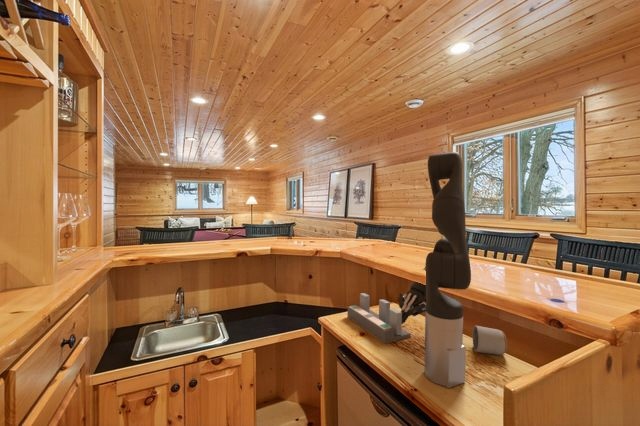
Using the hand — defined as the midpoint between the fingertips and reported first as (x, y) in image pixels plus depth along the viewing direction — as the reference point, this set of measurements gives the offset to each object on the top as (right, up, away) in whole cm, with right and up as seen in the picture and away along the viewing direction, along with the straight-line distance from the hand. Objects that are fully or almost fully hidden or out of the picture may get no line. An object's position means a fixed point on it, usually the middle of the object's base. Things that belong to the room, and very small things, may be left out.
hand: (399, 321), depth 102 cm
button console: (-6, -5, +8) cm, 11 cm away
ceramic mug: (+25, -6, -9) cm, 27 cm away
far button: (-9, -3, +17) cm, 19 cm away
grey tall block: (-1, -3, 0) cm, 4 cm away
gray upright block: (-3, -3, +9) cm, 10 cm away
